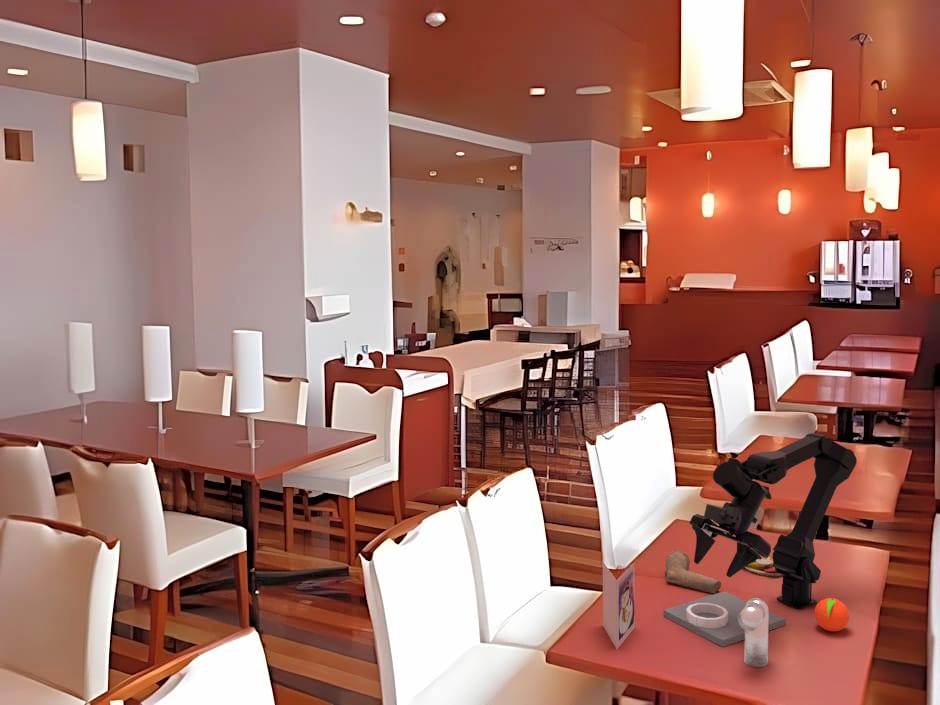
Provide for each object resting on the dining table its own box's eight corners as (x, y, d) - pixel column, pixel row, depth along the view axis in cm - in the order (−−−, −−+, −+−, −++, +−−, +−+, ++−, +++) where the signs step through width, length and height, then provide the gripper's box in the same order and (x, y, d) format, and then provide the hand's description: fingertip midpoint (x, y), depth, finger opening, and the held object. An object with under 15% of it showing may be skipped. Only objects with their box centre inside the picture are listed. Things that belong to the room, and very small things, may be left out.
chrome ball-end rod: (747, 654, 178) (748, 592, 176) (770, 659, 175) (771, 597, 174) (735, 671, 171) (736, 607, 169) (758, 677, 168) (759, 612, 167)
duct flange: (724, 597, 206) (724, 583, 205) (785, 625, 190) (785, 610, 190) (663, 616, 197) (663, 601, 196) (722, 647, 181) (722, 631, 181)
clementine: (845, 641, 182) (846, 609, 181) (810, 634, 186) (811, 603, 185) (851, 627, 189) (852, 595, 188) (817, 620, 192) (818, 589, 192)
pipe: (715, 579, 205) (731, 559, 213) (651, 563, 216) (669, 546, 223) (716, 603, 207) (732, 583, 214) (653, 586, 217) (670, 568, 225)
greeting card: (620, 650, 181) (620, 581, 179) (587, 643, 185) (586, 575, 183) (638, 628, 191) (638, 563, 189) (606, 622, 195) (606, 557, 193)
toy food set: (801, 565, 225) (801, 553, 225) (789, 582, 214) (790, 570, 214) (749, 556, 232) (749, 544, 232) (735, 573, 221) (735, 560, 221)
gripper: (692, 479, 194) (659, 540, 190) (758, 499, 178) (724, 566, 174) (719, 502, 199) (687, 562, 196) (786, 524, 183) (753, 590, 180)
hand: (711, 569), depth 186 cm, fingers open, 9 cm apart
